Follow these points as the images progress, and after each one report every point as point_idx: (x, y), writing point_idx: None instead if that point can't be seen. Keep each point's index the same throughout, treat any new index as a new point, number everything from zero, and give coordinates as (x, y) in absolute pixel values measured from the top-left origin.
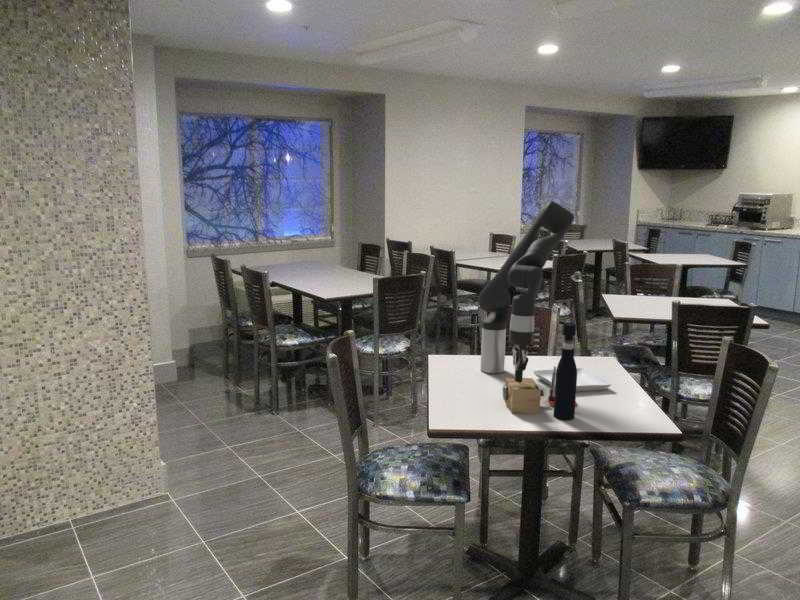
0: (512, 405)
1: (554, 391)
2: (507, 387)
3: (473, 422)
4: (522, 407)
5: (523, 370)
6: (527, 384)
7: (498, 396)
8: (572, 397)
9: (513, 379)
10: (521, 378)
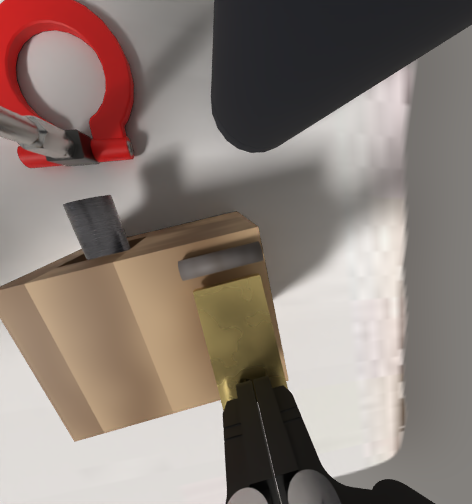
0: None
1: (44, 121)
2: None
3: (349, 396)
4: None
5: (322, 474)
6: (272, 327)
7: None
8: None
9: (86, 399)
10: (294, 401)
